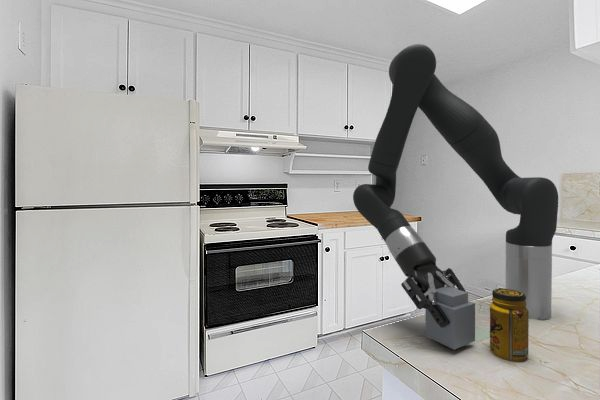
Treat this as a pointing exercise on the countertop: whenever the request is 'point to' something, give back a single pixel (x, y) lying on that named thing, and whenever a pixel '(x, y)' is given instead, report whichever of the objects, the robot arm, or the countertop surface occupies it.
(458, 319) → the grey stepped block
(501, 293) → the condiment
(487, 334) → the mat
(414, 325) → the countertop surface
